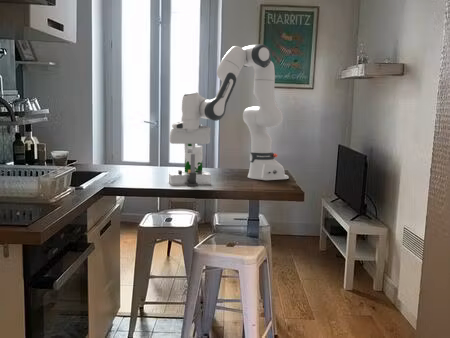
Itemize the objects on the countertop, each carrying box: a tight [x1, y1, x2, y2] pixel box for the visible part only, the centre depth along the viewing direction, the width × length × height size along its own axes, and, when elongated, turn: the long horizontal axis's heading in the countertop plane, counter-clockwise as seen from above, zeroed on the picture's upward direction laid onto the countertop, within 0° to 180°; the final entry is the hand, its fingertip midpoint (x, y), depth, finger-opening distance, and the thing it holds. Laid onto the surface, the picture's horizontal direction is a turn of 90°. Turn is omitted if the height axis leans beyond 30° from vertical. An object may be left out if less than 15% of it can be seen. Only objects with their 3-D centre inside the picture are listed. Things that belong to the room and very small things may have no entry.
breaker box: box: [168, 169, 212, 186], centre depth 252 cm, size 20×8×7 cm, turn 105°
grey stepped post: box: [186, 154, 199, 188], centre depth 244 cm, size 5×5×16 cm
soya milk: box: [184, 144, 204, 172], centre depth 262 cm, size 9×9×20 cm
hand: (189, 152), depth 250 cm, fingers closed
